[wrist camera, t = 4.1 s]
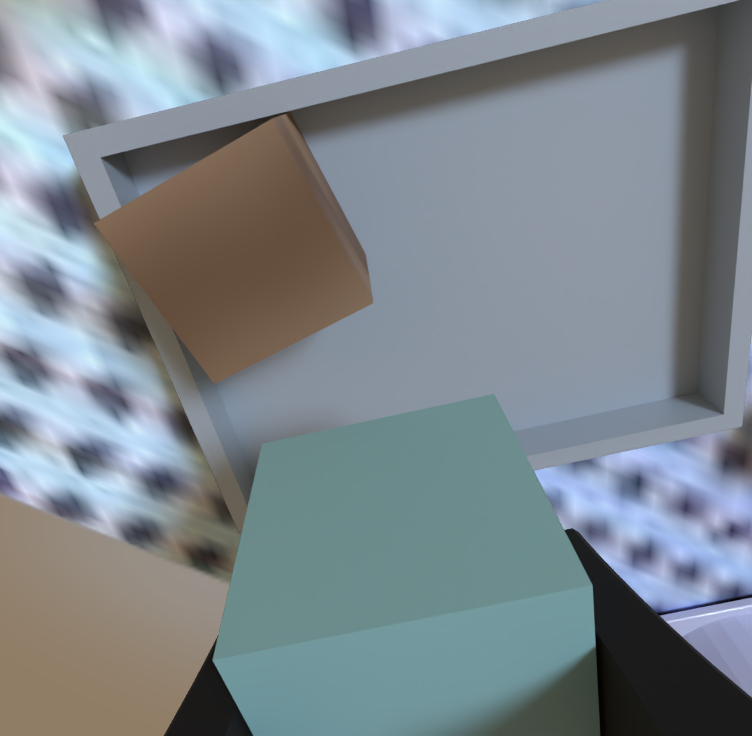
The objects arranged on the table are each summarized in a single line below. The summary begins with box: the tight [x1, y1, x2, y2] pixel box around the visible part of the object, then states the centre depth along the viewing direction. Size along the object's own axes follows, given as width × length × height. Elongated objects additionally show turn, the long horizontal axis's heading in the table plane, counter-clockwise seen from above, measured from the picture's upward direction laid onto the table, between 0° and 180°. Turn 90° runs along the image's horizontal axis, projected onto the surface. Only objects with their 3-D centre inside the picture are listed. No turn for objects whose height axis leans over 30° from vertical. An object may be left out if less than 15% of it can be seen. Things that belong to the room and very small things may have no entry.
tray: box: [63, 0, 752, 533], centre depth 15 cm, size 12×16×2 cm
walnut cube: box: [94, 112, 373, 384], centre depth 13 cm, size 4×4×4 cm
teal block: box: [213, 394, 600, 736], centre depth 9 cm, size 4×4×4 cm
